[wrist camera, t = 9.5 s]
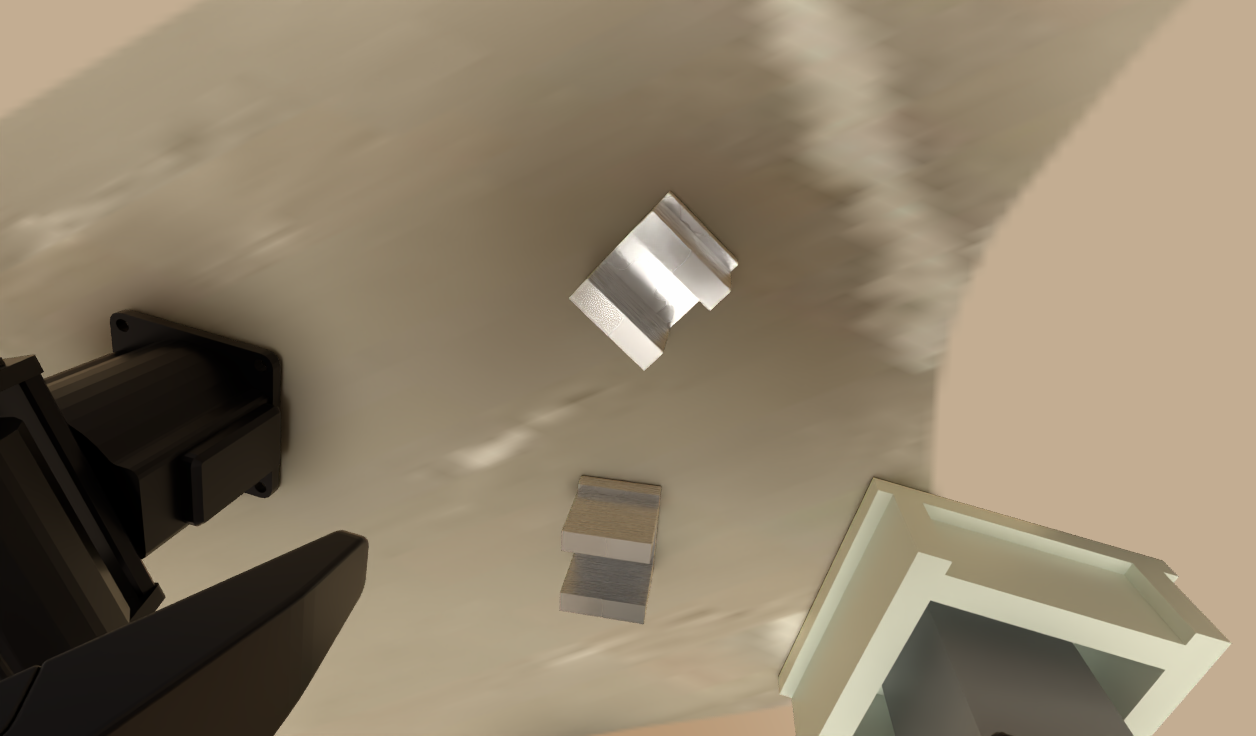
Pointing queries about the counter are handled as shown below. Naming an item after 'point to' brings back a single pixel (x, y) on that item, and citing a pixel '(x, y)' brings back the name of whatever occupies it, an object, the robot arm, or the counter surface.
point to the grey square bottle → (993, 682)
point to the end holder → (988, 609)
